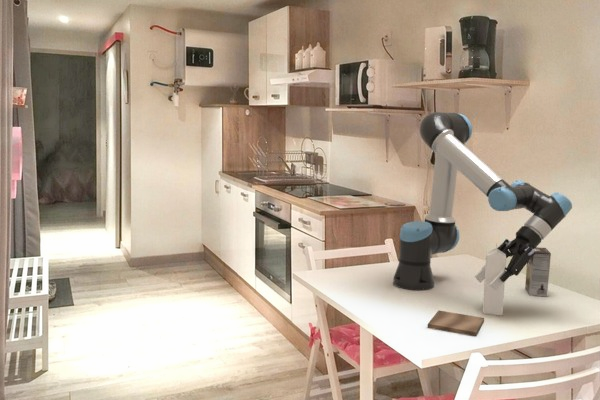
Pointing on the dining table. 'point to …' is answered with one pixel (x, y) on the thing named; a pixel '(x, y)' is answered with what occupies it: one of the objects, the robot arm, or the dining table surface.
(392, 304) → the dining table surface
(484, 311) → the milk
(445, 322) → the walnut board
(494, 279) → the robot arm
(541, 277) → the coffee box
